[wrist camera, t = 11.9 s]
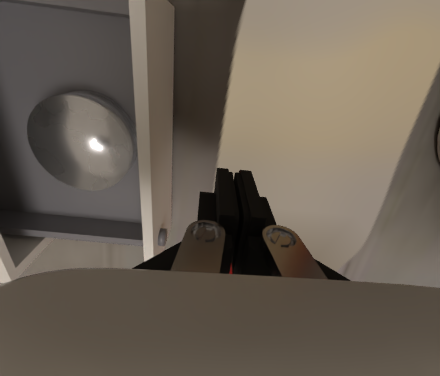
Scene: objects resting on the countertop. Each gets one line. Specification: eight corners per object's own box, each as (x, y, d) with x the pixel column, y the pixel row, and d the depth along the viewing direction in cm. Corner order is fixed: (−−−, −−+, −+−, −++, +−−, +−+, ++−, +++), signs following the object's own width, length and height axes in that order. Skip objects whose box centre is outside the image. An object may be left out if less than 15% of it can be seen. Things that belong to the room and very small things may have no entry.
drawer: (181, 8, 14) (155, -20, 8) (175, 225, 21) (160, 281, 16) (-135, -35, 13) (-377, -95, 8) (-23, 206, 21) (-107, 258, 15)
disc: (37, 85, 15) (12, 90, 13) (135, 95, 15) (124, 100, 13) (60, 173, 18) (42, 186, 16) (142, 180, 18) (133, 194, 16)
